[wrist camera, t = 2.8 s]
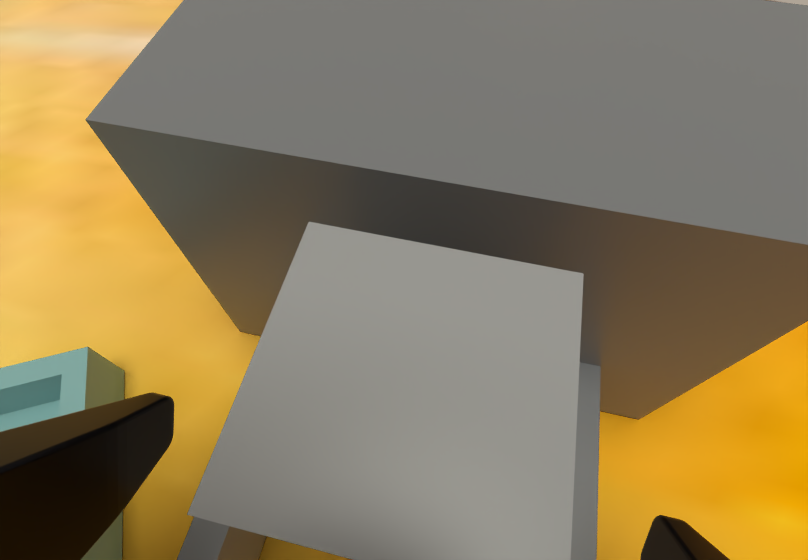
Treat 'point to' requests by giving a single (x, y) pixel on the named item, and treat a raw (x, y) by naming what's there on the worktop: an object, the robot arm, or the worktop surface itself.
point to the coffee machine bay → (494, 168)
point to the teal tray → (63, 406)
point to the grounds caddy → (406, 406)
